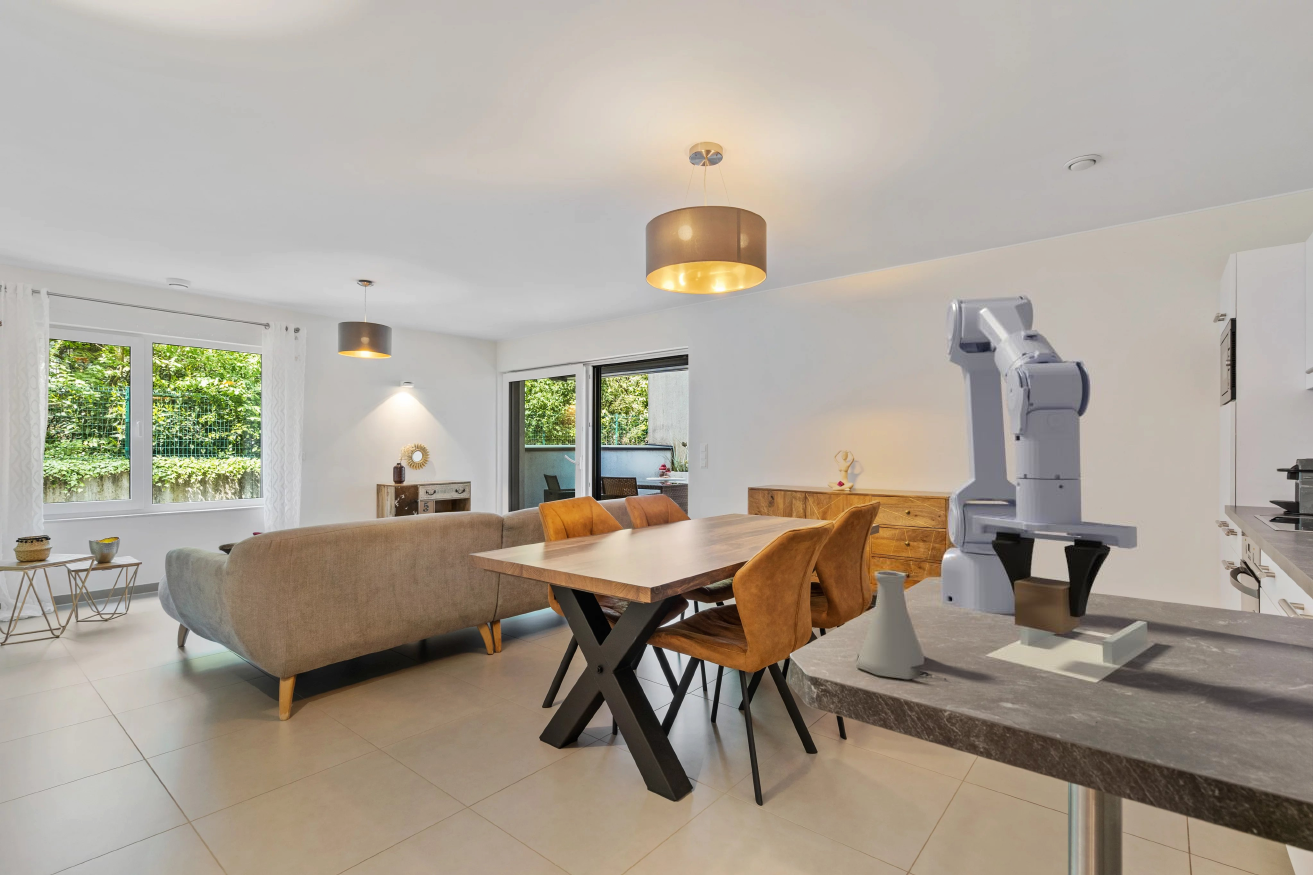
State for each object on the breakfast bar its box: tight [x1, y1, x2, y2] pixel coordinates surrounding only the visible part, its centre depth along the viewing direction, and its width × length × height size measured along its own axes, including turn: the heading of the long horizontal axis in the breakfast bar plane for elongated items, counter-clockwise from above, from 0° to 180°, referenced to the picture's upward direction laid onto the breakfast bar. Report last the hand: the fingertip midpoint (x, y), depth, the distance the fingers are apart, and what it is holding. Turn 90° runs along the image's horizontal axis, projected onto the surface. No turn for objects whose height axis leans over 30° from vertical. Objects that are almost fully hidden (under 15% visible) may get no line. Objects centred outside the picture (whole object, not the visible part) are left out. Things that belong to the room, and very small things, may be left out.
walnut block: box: [1014, 575, 1081, 635], centre depth 64 cm, size 4×4×4 cm
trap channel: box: [985, 620, 1156, 684], centre depth 68 cm, size 10×19×3 cm, turn 128°
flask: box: [855, 570, 928, 680], centre depth 66 cm, size 7×7×10 cm
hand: (1049, 610), depth 64 cm, fingers closed on walnut block, 4 cm apart
